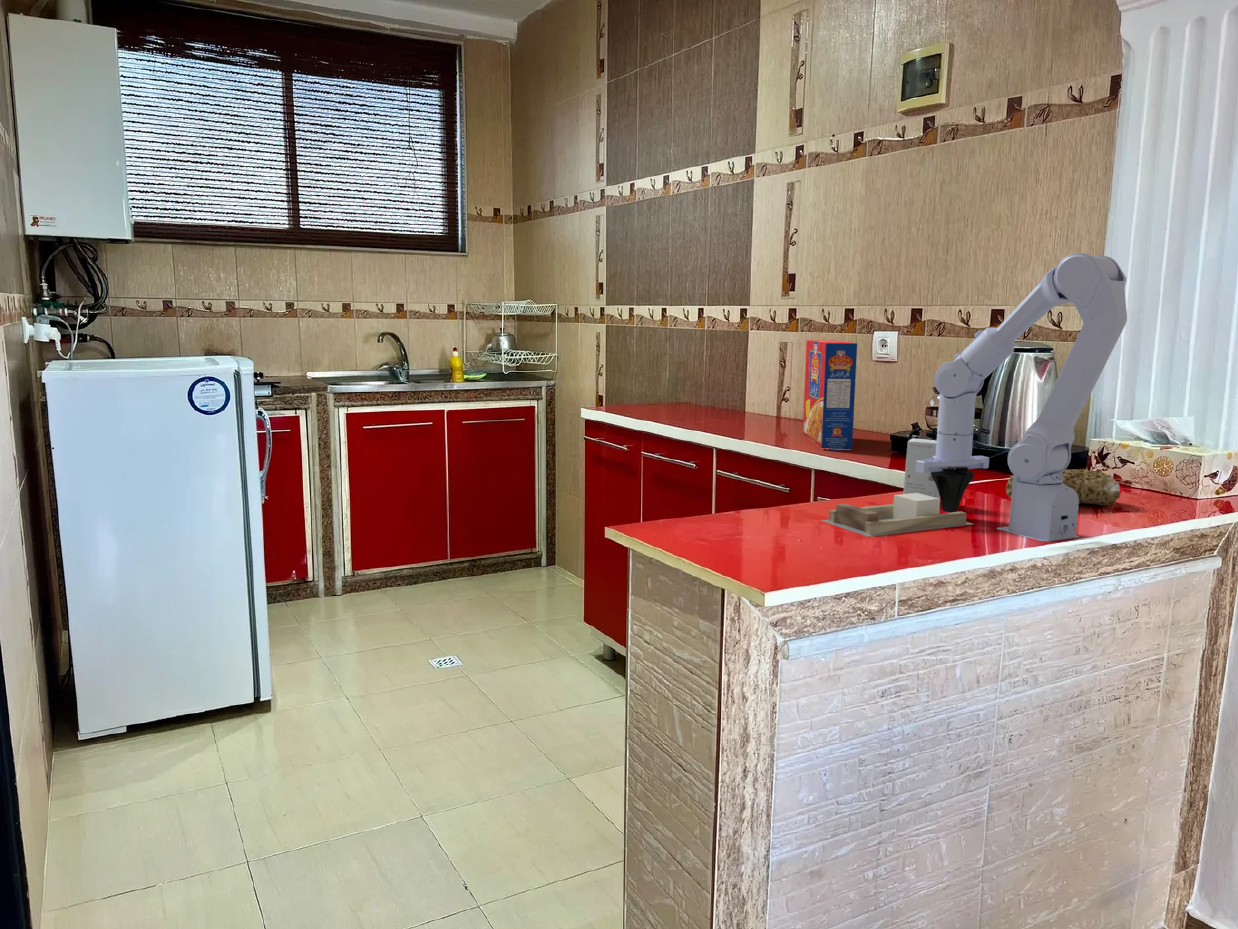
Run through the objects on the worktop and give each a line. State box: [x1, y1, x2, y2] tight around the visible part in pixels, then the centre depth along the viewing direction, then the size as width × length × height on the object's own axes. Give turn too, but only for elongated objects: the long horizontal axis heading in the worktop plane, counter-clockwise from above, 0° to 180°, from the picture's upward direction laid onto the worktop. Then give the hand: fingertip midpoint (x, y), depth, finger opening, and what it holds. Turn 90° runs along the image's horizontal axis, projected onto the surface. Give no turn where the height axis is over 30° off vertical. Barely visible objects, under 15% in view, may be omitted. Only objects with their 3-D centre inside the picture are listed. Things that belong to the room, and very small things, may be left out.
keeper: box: [893, 493, 941, 519], centre depth 149 cm, size 5×5×4 cm
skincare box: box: [902, 438, 942, 499], centre depth 164 cm, size 6×4×12 cm
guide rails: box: [828, 503, 967, 535], centre depth 148 cm, size 10×20×3 cm, turn 114°
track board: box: [820, 516, 973, 538], centre depth 148 cm, size 12×22×1 cm, turn 114°
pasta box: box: [802, 339, 858, 450], centre depth 244 cm, size 28×8×28 cm, turn 178°
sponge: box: [1005, 468, 1121, 506], centre depth 166 cm, size 13×8×20 cm
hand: (949, 511), depth 152 cm, fingers closed
